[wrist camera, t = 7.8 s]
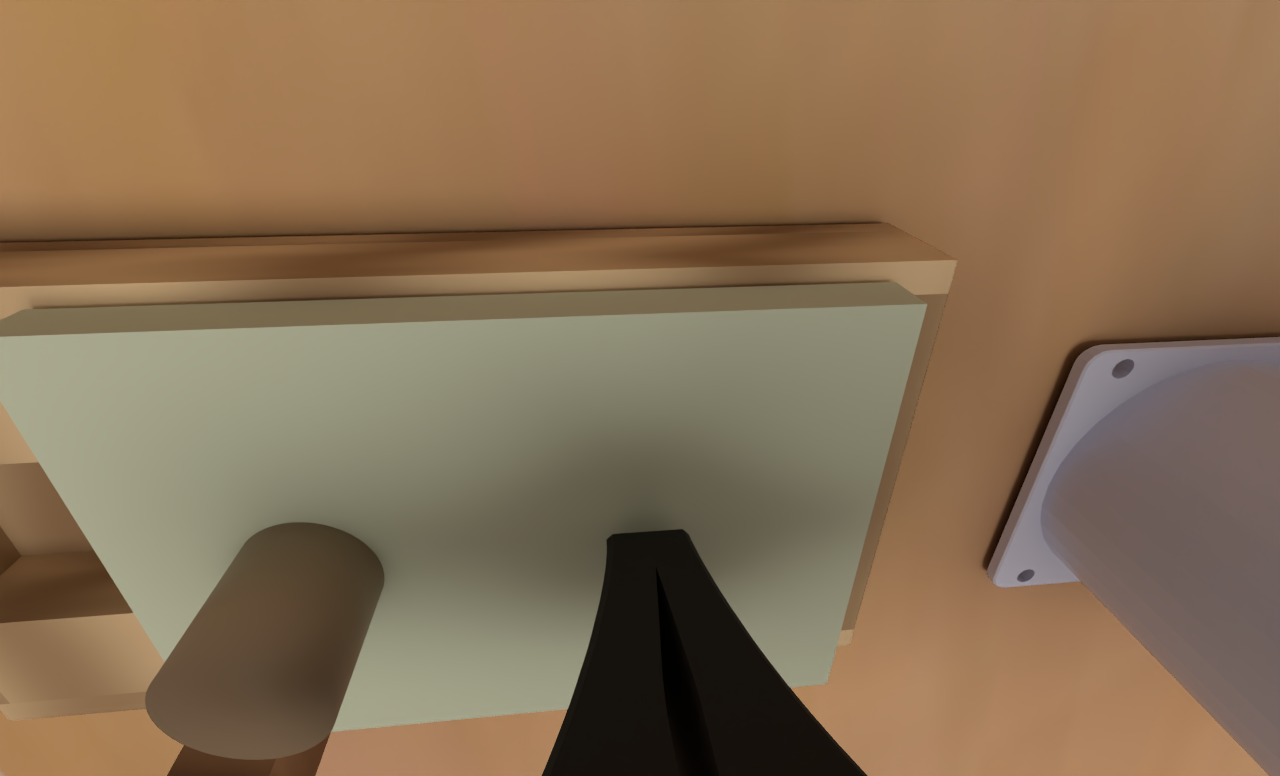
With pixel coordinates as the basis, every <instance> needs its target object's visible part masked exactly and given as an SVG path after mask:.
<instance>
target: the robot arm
mask: <svg viewBox="0 0 1280 776" xmlns="http://www.w3.org/2000/svg"><path fill="white" fill-rule="evenodd" d="M1116 364H1117V366H1116ZM606 541H607V556H606V567H605V575H604V581H603V587H602V592H601V597H600V602H599V606H598V610H597V614H596V618H595V622H594V626H593V630H592V634H591V638H590V642H589V645H588V649H587V652H586V655H585V659H584V662H583V665H582V668H581V671H580V674H579V677H578V680H577V683H576V687H575V690H574V693H573V696H572V699H571V702H570V705H569V707H568V710H567V713H566V716H565V718H564V721H563V724H562V726H561V729H560V732H559V734H558V737H557V739H556V742H555V744H554V747H553V750H552V752H551V755H550V757H549V760H548V762H547V765H546V767H545V769H544V772H543V774H542V776H867V775H866V774H865V773H864V771H863V770H862V769H861V768H860V767H859V766H858V765H857V764H856V763H855V762H854V761H853V760H852V759H851V757H850V756H849V755H848V754H847V753H846V752H845V751H844V750H843V749H842V748H841V747H840V746H839V745H838V743H837V742H836V741H835V740H834V739H833V738H832V737H831V736H830V734H829V733H828V732H827V731H826V730H825V729H824V728H823V726H822V725H821V724H820V723H819V722H818V721H817V720H816V718H815V717H814V716H813V715H812V714H811V713H810V711H809V710H808V709H807V708H806V707H805V705H804V704H803V703H802V702H801V701H800V699H799V698H798V697H797V696H796V695H795V693H794V692H793V691H792V690H791V688H790V687H789V686H788V685H787V683H786V682H785V681H784V680H783V678H782V677H781V676H780V674H779V673H778V672H777V670H776V669H775V668H774V667H773V665H772V664H771V663H770V661H769V660H768V659H767V658H766V656H765V655H764V653H763V652H762V651H761V649H760V648H759V647H758V645H757V644H756V643H755V641H754V640H753V638H752V637H751V636H750V634H749V633H748V631H747V630H746V628H745V627H744V625H743V624H742V622H741V621H740V620H739V618H738V617H737V615H736V614H735V612H734V611H733V609H732V608H731V606H730V605H729V603H728V602H727V600H726V599H725V597H724V596H723V594H722V593H721V591H720V589H719V588H718V586H717V584H716V583H715V581H714V580H713V578H712V576H711V575H710V573H709V571H708V570H707V568H706V566H705V564H704V563H703V561H702V559H701V557H700V556H699V554H698V552H697V550H696V548H695V546H694V544H693V542H692V540H691V538H690V536H689V534H688V533H687V532H686V531H684V530H683V529H676V530H662V531H648V532H633V533H619V534H612V535H611V536H610V537H609V538H608V539H606ZM987 575H988V577H989V578H990V580H991V581H992V582H993V583H994V585H996V586H998V587H1017V586H1029V585H1041V584H1053V583H1065V582H1077V581H1081V582H1082V583H1083V584H1084V585H1085V586H1086V587H1087V588H1088V589H1089V590H1090V591H1091V592H1092V594H1093V595H1094V596H1095V597H1096V598H1097V599H1098V600H1099V601H1100V602H1101V603H1102V604H1103V605H1104V606H1105V607H1106V608H1107V609H1108V610H1109V611H1110V612H1111V613H1112V614H1113V615H1114V616H1115V617H1116V618H1117V619H1118V620H1119V621H1120V622H1121V623H1122V624H1123V625H1124V626H1125V627H1126V629H1127V630H1128V631H1129V632H1130V633H1131V634H1132V635H1133V636H1134V637H1135V638H1136V639H1137V640H1138V641H1139V642H1140V643H1141V644H1142V645H1143V646H1144V647H1145V648H1146V649H1147V650H1148V651H1149V652H1150V653H1151V654H1152V655H1153V656H1154V657H1155V658H1156V659H1157V660H1158V661H1159V662H1160V664H1161V665H1162V666H1163V667H1164V668H1165V669H1166V670H1167V671H1168V672H1169V673H1170V674H1171V675H1172V676H1173V677H1174V678H1175V679H1176V680H1177V681H1178V682H1179V683H1180V684H1181V685H1182V686H1183V687H1184V688H1185V689H1186V690H1187V691H1188V692H1189V693H1190V694H1191V695H1192V696H1193V698H1194V699H1195V700H1196V701H1197V702H1198V703H1199V704H1200V705H1201V706H1202V707H1203V708H1204V709H1205V710H1206V711H1207V712H1208V713H1209V714H1210V715H1211V716H1212V717H1213V718H1214V719H1215V720H1216V721H1217V722H1218V723H1219V724H1220V725H1221V726H1222V727H1223V728H1224V729H1225V730H1226V731H1227V733H1228V734H1229V735H1230V736H1231V737H1232V738H1233V739H1234V740H1235V741H1236V742H1237V743H1238V744H1239V745H1240V746H1241V747H1242V748H1243V749H1244V750H1245V751H1246V752H1247V753H1248V754H1249V755H1250V756H1251V757H1252V758H1253V759H1254V760H1255V761H1256V762H1257V763H1258V764H1259V765H1260V766H1261V768H1262V769H1263V770H1264V771H1265V772H1266V773H1267V774H1268V775H1269V776H1280V337H1265V338H1242V339H1219V340H1196V341H1173V342H1150V343H1127V344H1104V345H1097V346H1093V347H1091V348H1089V349H1087V350H1085V351H1084V352H1082V353H1081V354H1080V355H1079V356H1078V357H1077V359H1076V361H1075V362H1074V364H1073V367H1072V369H1071V371H1070V374H1069V376H1068V379H1067V381H1066V383H1065V386H1064V388H1063V391H1062V393H1061V395H1060V398H1059V400H1058V402H1057V405H1056V407H1055V410H1054V412H1053V414H1052V417H1051V419H1050V421H1049V424H1048V426H1047V429H1046V431H1045V433H1044V436H1043V438H1042V441H1041V443H1040V445H1039V448H1038V450H1037V452H1036V455H1035V457H1034V460H1033V462H1032V464H1031V467H1030V469H1029V471H1028V474H1027V476H1026V479H1025V481H1024V483H1023V486H1022V488H1021V490H1020V493H1019V495H1018V498H1017V500H1016V502H1015V505H1014V507H1013V510H1012V512H1011V514H1010V517H1009V519H1008V521H1007V524H1006V526H1005V529H1004V531H1003V533H1002V536H1001V538H1000V540H999V543H998V545H997V548H996V550H995V552H994V555H993V557H992V560H991V562H990V564H989V567H988V569H987Z"/></svg>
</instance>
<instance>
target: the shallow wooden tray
mask: <svg viewBox="0 0 1280 776" xmlns="http://www.w3.org/2000/svg"><path fill="white" fill-rule="evenodd" d="M957 261H958V260H957V259H955V258H953V257H951V256H949V255H947V254H945V253H943V252H942V251H940V250H938V249H936V248H934V247H932V246H930V245H928V244H926V243H924V242H922V241H921V240H919V239H917V238H915V237H913V236H911V235H909V234H907V233H905V232H903V231H902V230H900V229H898V228H896V227H894V226H892V225H890V224H888V223H881V224H835V225H790V226H744V227H699V228H653V229H608V230H562V231H517V232H471V233H426V234H380V235H334V236H289V237H243V238H198V239H152V240H107V241H61V242H16V243H0V320H1V319H3V318H5V317H8V316H10V315H12V314H14V313H16V312H18V311H21V310H26V309H58V308H90V307H121V306H153V305H184V304H216V303H248V302H279V301H311V300H343V299H374V298H406V297H437V296H469V295H501V294H532V293H564V292H596V291H627V290H659V289H690V288H722V287H754V286H785V285H817V284H849V283H880V282H897V283H898V284H899V285H901V286H902V287H904V288H905V289H907V290H908V291H910V292H911V293H912V294H914V295H915V296H917V297H918V298H920V299H921V300H923V301H924V302H925V303H927V308H926V312H925V315H924V319H923V323H922V327H921V330H920V334H919V338H918V342H917V346H916V349H915V353H914V357H913V361H912V364H911V368H910V372H909V376H908V380H907V383H906V387H905V391H904V395H903V398H902V402H901V406H900V410H899V413H898V417H897V421H896V425H895V429H894V432H893V436H892V440H891V444H890V447H889V451H888V455H887V459H886V463H885V466H884V470H883V474H882V478H881V481H880V485H879V489H878V493H877V496H876V500H875V504H874V508H873V512H872V515H871V519H870V523H869V527H868V530H867V534H866V538H865V542H864V546H863V549H862V553H861V557H860V561H859V564H858V568H857V572H856V576H855V580H854V583H853V587H852V591H851V595H850V598H849V602H848V606H847V610H846V613H845V617H844V621H843V625H842V629H841V632H840V636H839V640H838V644H837V646H844V645H850V641H851V638H852V634H853V631H854V627H855V624H856V620H857V616H858V613H859V609H860V606H861V602H862V599H863V595H864V592H865V588H866V584H867V581H868V577H869V574H870V570H871V567H872V563H873V560H874V556H875V552H876V549H877V545H878V542H879V538H880V535H881V531H882V528H883V524H884V520H885V517H886V513H887V510H888V506H889V503H890V499H891V496H892V492H893V488H894V485H895V481H896V478H897V474H898V471H899V467H900V464H901V460H902V456H903V453H904V449H905V446H906V442H907V439H908V435H909V432H910V428H911V424H912V421H913V417H914V414H915V410H916V407H917V403H918V400H919V396H920V392H921V389H922V385H923V382H924V378H925V375H926V371H927V368H928V364H929V360H930V357H931V353H932V350H933V346H934V343H935V339H936V336H937V332H938V328H939V325H940V321H941V318H942V314H943V311H944V307H945V303H946V300H947V296H948V293H949V289H950V286H951V282H952V279H953V275H954V271H955V268H956V264H957ZM164 663H165V662H164V660H163V659H162V657H161V656H160V654H159V653H158V651H157V649H156V648H155V646H154V645H153V643H152V641H151V640H150V638H149V637H148V635H147V633H146V632H145V630H144V629H143V627H142V626H141V624H140V622H139V621H138V619H137V618H136V616H135V614H134V613H133V611H132V610H131V608H130V606H129V605H128V603H127V602H126V600H125V599H124V597H123V595H122V594H121V592H120V591H119V589H118V587H117V586H116V584H115V583H114V581H113V579H112V578H111V576H110V575H109V573H108V572H107V570H106V568H105V567H104V565H103V564H102V562H101V560H100V559H99V557H98V556H97V554H96V553H95V551H94V549H93V548H92V546H91V545H90V543H89V541H88V540H87V538H86V537H85V535H84V533H83V532H82V530H81V529H80V527H79V526H78V524H77V522H76V521H75V519H74V518H73V516H72V514H71V513H70V511H69V510H68V508H67V506H66V505H65V503H64V502H63V500H62V499H61V497H60V495H59V494H58V492H57V491H56V489H55V487H54V486H53V484H52V483H51V481H50V479H49V478H48V476H47V475H46V473H45V472H44V470H43V468H42V467H41V465H40V464H39V462H38V460H37V459H36V457H35V456H34V454H33V453H32V451H31V449H30V448H29V446H28V445H27V443H26V441H25V440H24V438H23V437H22V435H21V433H20V432H19V430H18V429H17V427H16V426H15V424H14V422H13V421H12V419H11V418H10V416H9V414H8V413H7V411H6V410H5V408H4V406H3V405H2V403H1V402H0V711H1V712H2V713H3V714H4V715H5V716H6V717H7V718H8V719H9V720H10V721H16V720H27V719H38V718H49V717H60V716H71V715H82V714H93V713H104V712H115V711H126V710H137V709H146V706H145V696H146V691H147V689H148V687H149V685H150V683H151V682H152V680H153V679H154V677H155V676H156V675H157V673H158V672H159V670H160V669H161V667H162V666H163V664H164Z"/></svg>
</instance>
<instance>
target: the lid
mask: <svg viewBox="0 0 1280 776" xmlns="http://www.w3.org/2000/svg"><path fill="white" fill-rule="evenodd" d="M926 308H927V303H925V302H924V301H923V300H921V299H920V298H918V297H917V296H915V295H914V294H912V293H911V292H910V291H908V290H907V289H905V288H904V287H902V286H901V285H899V284H898V283H897V282H880V283H849V284H817V285H785V286H754V287H722V288H690V289H659V290H627V291H596V292H564V293H532V294H501V295H469V296H437V297H406V298H374V299H343V300H311V301H279V302H248V303H216V304H184V305H153V306H121V307H90V308H58V309H26V310H21V311H18V312H16V313H14V314H12V315H10V316H8V317H5V318H3V319H1V320H0V402H1V403H2V405H3V406H4V408H5V410H6V411H7V413H8V414H9V416H10V418H11V419H12V421H13V422H14V424H15V426H16V427H17V429H18V430H19V432H20V433H21V435H22V437H23V438H24V440H25V441H26V443H27V445H28V446H29V448H30V449H31V451H32V453H33V454H34V456H35V457H36V459H37V460H38V462H39V464H40V465H41V467H42V468H43V470H44V472H45V473H46V475H47V476H48V478H49V479H50V481H51V483H52V484H53V486H54V487H55V489H56V491H57V492H58V494H59V495H60V497H61V499H62V500H63V502H64V503H65V505H66V506H67V508H68V510H69V511H70V513H71V514H72V516H73V518H74V519H75V521H76V522H77V524H78V526H79V527H80V529H81V530H82V532H83V533H84V535H85V537H86V538H87V540H88V541H89V543H90V545H91V546H92V548H93V549H94V551H95V553H96V554H97V556H98V557H99V559H100V560H101V562H102V564H103V565H104V567H105V568H106V570H107V572H108V573H109V575H110V576H111V578H112V579H113V581H114V583H115V584H116V586H117V587H118V589H119V591H120V592H121V594H122V595H123V597H124V599H125V600H126V602H127V603H128V605H129V606H130V608H131V610H132V611H133V613H134V614H135V616H136V618H137V619H138V621H139V622H140V624H141V626H142V627H143V629H144V630H145V632H146V633H147V635H148V637H149V638H150V640H151V641H152V643H153V645H154V646H155V648H156V649H157V651H158V653H159V654H160V656H161V657H162V659H163V660H164V662H165V663H164V664H163V666H162V667H161V669H160V670H159V672H158V673H157V675H156V676H155V677H154V679H153V680H152V682H151V683H150V685H149V687H148V689H147V691H146V696H145V706H146V709H147V712H148V714H149V716H150V718H151V720H152V721H153V722H154V723H155V725H156V726H157V727H158V728H159V729H160V730H162V731H163V732H164V733H165V734H167V735H168V736H169V737H171V738H172V739H174V740H176V741H178V742H179V743H181V744H183V745H186V746H188V747H190V748H192V749H195V750H198V751H201V752H204V753H208V754H211V755H216V756H220V757H226V758H233V759H245V760H264V759H275V758H282V757H286V756H291V755H294V754H298V753H301V752H303V751H306V750H308V749H310V748H312V747H314V746H316V745H317V744H319V743H320V742H321V741H323V740H324V739H325V738H326V737H327V736H328V735H329V734H330V732H335V731H345V730H355V729H366V728H376V727H387V726H397V725H407V724H418V723H428V722H438V721H449V720H459V719H469V718H480V717H490V716H500V715H511V714H521V713H532V712H542V711H552V710H563V709H568V707H569V705H570V702H571V699H572V696H573V693H574V690H575V687H576V683H577V680H578V677H579V674H580V671H581V668H582V665H583V662H584V659H585V655H586V652H587V649H588V645H589V642H590V638H591V634H592V630H593V626H594V622H595V618H596V614H597V610H598V606H599V602H600V597H601V592H602V587H603V581H604V575H605V567H606V556H607V541H606V539H608V538H609V537H610V536H611V535H612V534H619V533H633V532H648V531H662V530H676V529H683V530H684V531H686V532H687V533H688V534H689V536H690V538H691V540H692V542H693V544H694V546H695V548H696V550H697V552H698V554H699V556H700V557H701V559H702V561H703V563H704V564H705V566H706V568H707V570H708V571H709V573H710V575H711V576H712V578H713V580H714V581H715V583H716V584H717V586H718V588H719V589H720V591H721V593H722V594H723V596H724V597H725V599H726V600H727V602H728V603H729V605H730V606H731V608H732V609H733V611H734V612H735V614H736V615H737V617H738V618H739V620H740V621H741V622H742V624H743V625H744V627H745V628H746V630H747V631H748V633H749V634H750V636H751V637H752V638H753V640H754V641H755V643H756V644H757V645H758V647H759V648H760V649H761V651H762V652H763V653H764V655H765V656H766V658H767V659H768V660H769V661H770V663H771V664H772V665H773V667H774V668H775V669H776V670H777V672H778V673H779V674H780V676H781V677H782V678H783V680H784V681H785V682H786V683H787V685H788V686H789V687H790V688H791V687H801V686H811V685H822V684H827V681H828V678H829V674H830V670H831V666H832V663H833V659H834V655H835V651H836V647H837V644H838V640H839V636H840V632H841V629H842V625H843V621H844V617H845V613H846V610H847V606H848V602H849V598H850V595H851V591H852V587H853V583H854V580H855V576H856V572H857V568H858V564H859V561H860V557H861V553H862V549H863V546H864V542H865V538H866V534H867V530H868V527H869V523H870V519H871V515H872V512H873V508H874V504H875V500H876V496H877V493H878V489H879V485H880V481H881V478H882V474H883V470H884V466H885V463H886V459H887V455H888V451H889V447H890V444H891V440H892V436H893V432H894V429H895V425H896V421H897V417H898V413H899V410H900V406H901V402H902V398H903V395H904V391H905V387H906V383H907V380H908V376H909V372H910V368H911V364H912V361H913V357H914V353H915V349H916V346H917V342H918V338H919V334H920V330H921V327H922V323H923V319H924V315H925V312H926Z"/></svg>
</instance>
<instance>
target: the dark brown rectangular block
mask: <svg viewBox="0 0 1280 776" xmlns="http://www.w3.org/2000/svg"><path fill="white" fill-rule="evenodd" d="M330 733H331V732H330ZM329 735H330V734H329ZM329 735H328V736H327V737H326V738H325V739H324V740H323V741H321V742H320V743H319V744H317V745H316V746H314V747H312V748H310V749H308V750H306V751H303V752H301V753H298V754H294V755H291V756H286V757H282V758H275V759H264V760H245V759H233V758H226V757H220V756H216V755H211V754H208V753H204V752H201V751H198V750H195V749H192V748H190V747H188V746H186V745H184V746H183V748H182V750H181V752H180V753H179V755H178V757H177V759H176V761H175V762H174V764H173V766H172V768H171V769H170V771H169V773H168V775H167V776H315V775H316V772H317V769H318V766H319V763H320V761H321V758H322V755H323V752H324V749H325V747H326V744H327V741H328V738H329Z"/></svg>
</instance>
